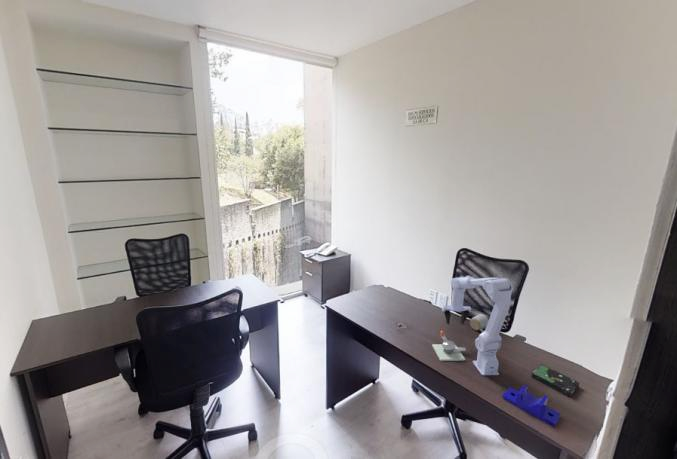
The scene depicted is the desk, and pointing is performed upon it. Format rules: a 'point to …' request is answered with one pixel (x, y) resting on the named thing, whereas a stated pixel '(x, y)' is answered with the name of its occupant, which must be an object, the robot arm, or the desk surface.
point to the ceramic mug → (479, 322)
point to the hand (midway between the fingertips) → (454, 323)
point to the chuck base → (446, 356)
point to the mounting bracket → (532, 404)
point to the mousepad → (400, 325)
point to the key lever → (447, 342)
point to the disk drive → (555, 380)
